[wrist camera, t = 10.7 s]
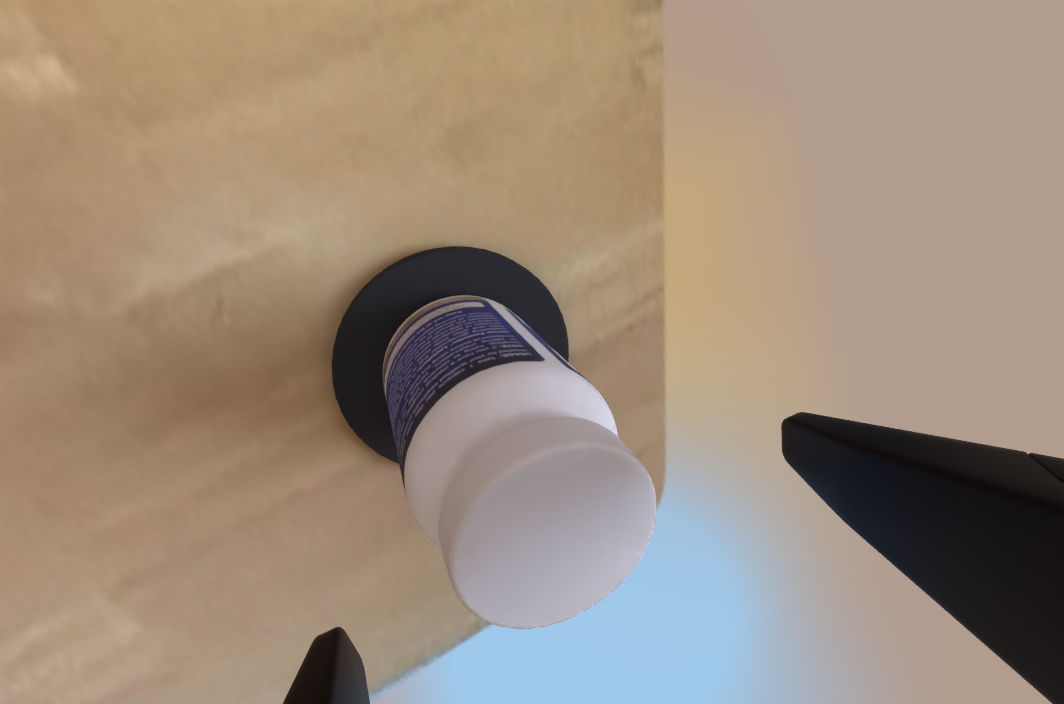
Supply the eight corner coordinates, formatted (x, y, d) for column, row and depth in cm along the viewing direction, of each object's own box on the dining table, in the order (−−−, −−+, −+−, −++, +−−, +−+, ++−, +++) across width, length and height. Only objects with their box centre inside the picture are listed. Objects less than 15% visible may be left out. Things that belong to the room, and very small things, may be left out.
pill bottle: (363, 421, 19) (386, 658, 10) (404, 272, 17) (472, 394, 9) (505, 441, 21) (624, 647, 12) (551, 312, 20) (721, 439, 11)
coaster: (535, 215, 19) (541, 216, 18) (582, 414, 23) (587, 420, 22) (288, 293, 17) (286, 297, 16) (385, 497, 21) (385, 506, 20)
